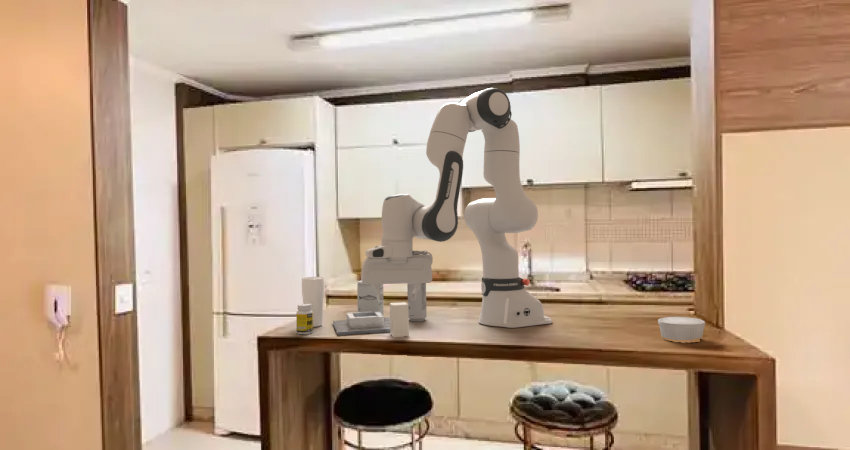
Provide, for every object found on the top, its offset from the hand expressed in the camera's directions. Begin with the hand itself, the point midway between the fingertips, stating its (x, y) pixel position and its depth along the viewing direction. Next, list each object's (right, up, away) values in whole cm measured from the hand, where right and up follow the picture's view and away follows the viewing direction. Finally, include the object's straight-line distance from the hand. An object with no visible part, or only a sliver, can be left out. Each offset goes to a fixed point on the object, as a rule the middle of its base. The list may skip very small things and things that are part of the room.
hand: (396, 299), depth 160 cm
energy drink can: (+6, -10, +23) cm, 26 cm away
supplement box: (-10, -10, +28) cm, 31 cm away
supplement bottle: (-27, -11, +6) cm, 30 cm away
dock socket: (-10, -10, +12) cm, 19 cm away
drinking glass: (-27, -11, +16) cm, 33 cm away
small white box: (+1, -10, 0) cm, 10 cm away
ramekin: (+76, -9, -11) cm, 77 cm away
